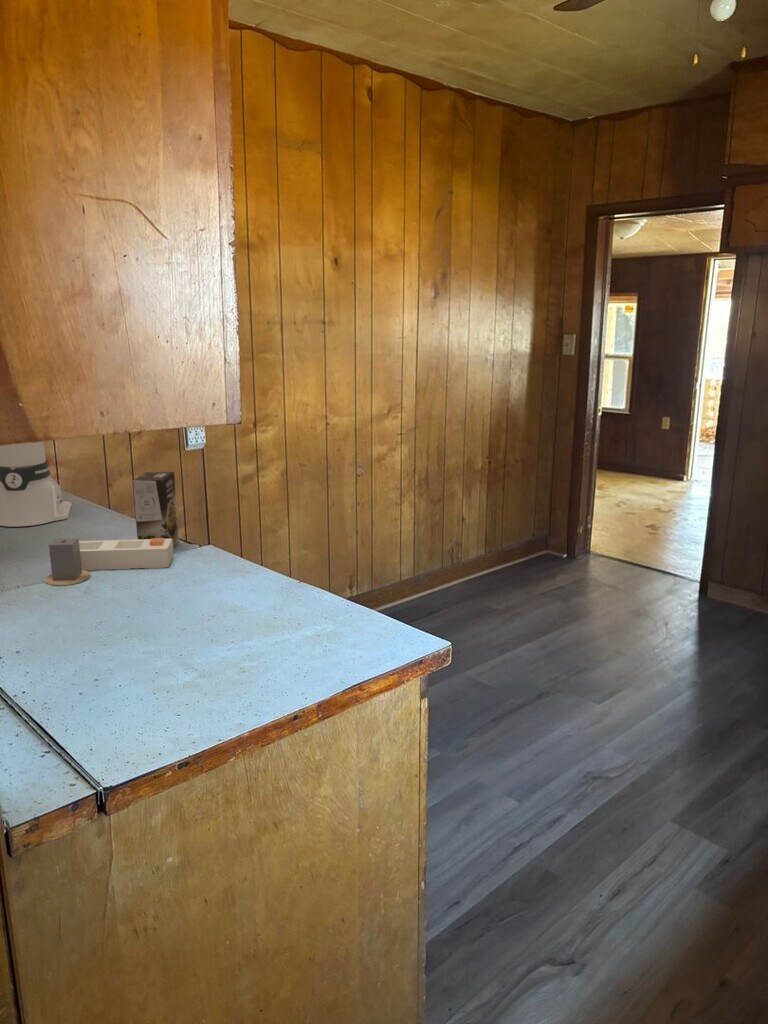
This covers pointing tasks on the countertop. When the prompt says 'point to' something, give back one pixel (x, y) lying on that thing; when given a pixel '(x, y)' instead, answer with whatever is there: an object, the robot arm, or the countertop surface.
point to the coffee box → (156, 506)
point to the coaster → (82, 577)
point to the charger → (65, 559)
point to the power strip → (126, 554)
